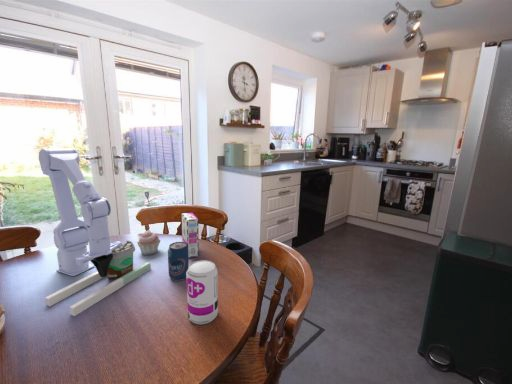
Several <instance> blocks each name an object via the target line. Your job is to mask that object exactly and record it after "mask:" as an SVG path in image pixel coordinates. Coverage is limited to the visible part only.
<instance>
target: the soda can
mask: <svg viewBox="0 0 512 384" xmlns="http://www.w3.org/2000/svg"><path fill="white" fill-rule="evenodd" d="M189 259H190V258H189V254H188V247H187V246H186V243H184V242H182V241H176V242H172V243H170V244H169V247H168V249H167V261H168V262H167V265H168V267H167V268H168V276H169V278H170V279H171V280H172V281H176V282H178V281H183V280H185V279H187V278H186V272H187V270H188V268H189V266H190V261H189Z"/></svg>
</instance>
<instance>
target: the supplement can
mask: <svg viewBox="0 0 512 384" xmlns="http://www.w3.org/2000/svg"><path fill="white" fill-rule="evenodd" d="M218 272H219V271H218V269H217V266H216V264H215V263H214V262H213V261H211V260H197V261H193V262H192V263H189V268H188V270H187V272H186V278H185V279H186V299H187V301H186V302H187V318H188V320H189V321H190V322H192V323H193V324H195V325H206V324H209V323H211V322H212V321H214V320H215V319H216V317H217V316H218V313H219V303H218V302H219V291H218V288H219V287H218V286H219V285H218V284H219V283H218V282H219V281H218V280H219V279H218Z"/></svg>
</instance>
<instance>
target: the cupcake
mask: <svg viewBox="0 0 512 384" xmlns="http://www.w3.org/2000/svg"><path fill="white" fill-rule="evenodd" d="M161 241H162V240H161V239H160V238H159V236H158V235H157V234H156V233H155V232H153V231H151V230H150V229H147V230H145V231H144V232H143V233H142V234H141V235H140V237H139V239H138V241H137V242H136V244H137V246H138V247H139V250H140V252H141V255H145V256H151V255H154V254H156V253H157V252H158V251H159V250H158V249H159V245H160V243H161Z"/></svg>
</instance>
